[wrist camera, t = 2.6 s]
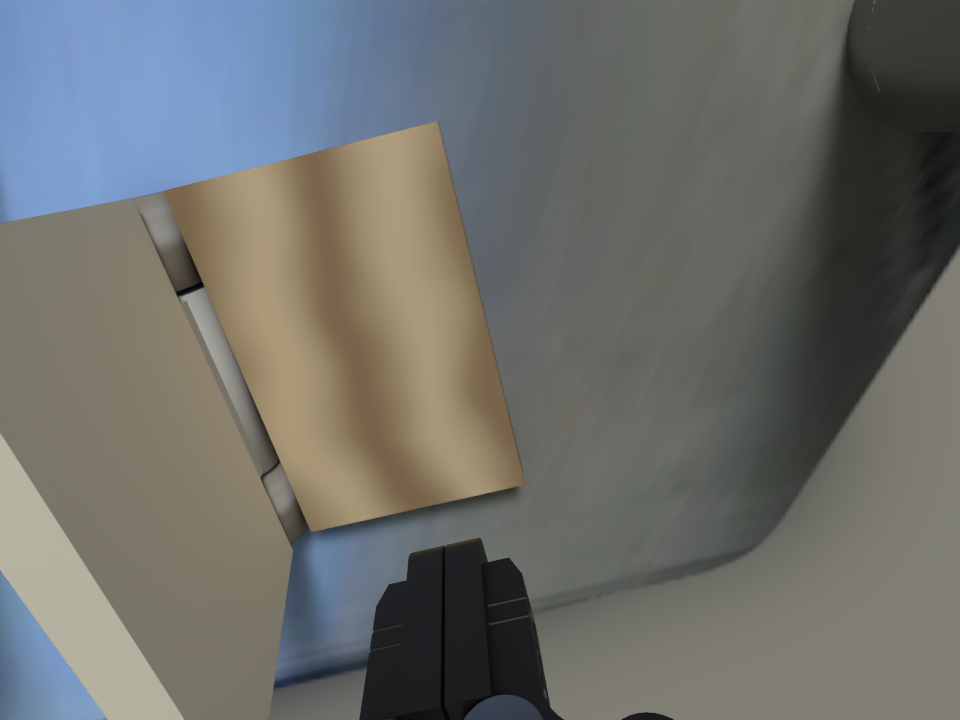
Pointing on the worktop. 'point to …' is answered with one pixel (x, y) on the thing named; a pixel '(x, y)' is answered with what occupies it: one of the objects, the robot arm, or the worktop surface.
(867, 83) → the robot arm
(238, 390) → the hinge leaf
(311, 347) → the fixed leaf
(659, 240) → the worktop surface
